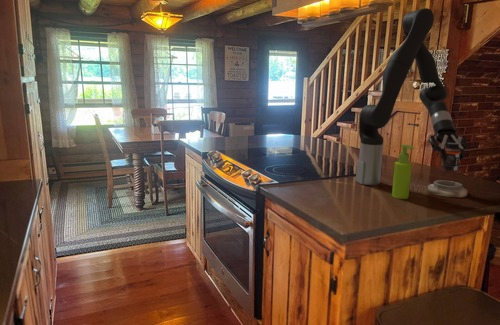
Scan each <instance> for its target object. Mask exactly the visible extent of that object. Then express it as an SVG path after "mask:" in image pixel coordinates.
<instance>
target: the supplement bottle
mask: <svg viewBox="0 0 500 325" xmlns="http://www.w3.org/2000/svg"><path fill="white" fill-rule="evenodd" d="M444 149H445V152H446V156H447V158H446V159H445V160H443V159H442V162H441V171H442V172H444V173H451V174H457V173H458V172H459V170H460V169H459V168H460V161H461V160H460V154H461V150H460V149H459V144H458V143H447V146H446V147H444Z"/></svg>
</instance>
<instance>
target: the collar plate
mask: <svg viewBox="0 0 500 325" xmlns="http://www.w3.org/2000/svg"><path fill="white" fill-rule="evenodd" d="M427 191H428V193H430V194H433V195H436V196H440V197H447V198H465V197H468V192H469V191H468V189H466V188H465V187H464V185H463V184H462V183H460V182H458V181H457V182H456V181H453V180H443V179H441V180H437V179H436V180H434V181H433V183H432V184H428V186H427Z"/></svg>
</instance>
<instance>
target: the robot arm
mask: <svg viewBox="0 0 500 325" xmlns="http://www.w3.org/2000/svg"><path fill="white" fill-rule="evenodd" d="M434 21H435V14H434V12H433V10H431V9H430V8H427V7H426V8H419V9H417V10H413V11H410V12H408V13H406V14H405V15H404V16H403V18H402V23H401V26H402V29H403V30H402V31H403V32H404V34H405V37H406V38H405V40H403V42H402V43H401V44H400V46H398V48H397V49H396V50H395V51H394V52H393V54H392V55H391V56H390V57H389V59H388V61H387V63H386V66H385V68H384V70H383V73H382V92H381V95H380V97H379V100H378V102H377V103H376V105H375V104H366V105H364V107H363V108H362V109H361V111H360V114H359V117H358V118H359V119H358V120H359V121H358V122H359V123H358V135H359V139H360V140H359V141H360V143H359V144H360V145H359V156H358V159H357V161H356V172H355V182H357V183H359V184H360V185H367V186H378V185H380V183H381V172H382V161H383V160H382V159H383V151H384V150H383V149H384V137H383V136H382V135H381V134H380V132H379V129H383V128H384V127H386V125H388V124H389V122H390V119H391V116H392V114H393V110H394V108H395V105H396V102H397V99H398V96H399V95H400V92H401V89H402V87H403V85H404V83H405V81H406V79H407V77H408V75H409V72H410V70H411V69H412V65H413V64H414V61H415V62H416V66H417V71H418V76H419V79H420V82H421V83H422V84H428V83H429V84H430V83H431V84H434V85H432V86H428V87H426V88H423V89H421V90H420V92H419V94H418V95H419V97H418V98H419V99H420V101H421V103H422V105H424V107H426V110H428V113H429V117H430V120H431V121H430V122H431V126H432V130H433V133H434V135H430V137H429V138H428V142H429V144H430V146H431V148H432V150H433V152H436V151H437V152H439V157H440V158H441V159H442V160H445V159H446V158H447V156H446V152H445V147H447V143H458V144H459V147H458V148H459V149H460V150H461V154H460V161H462V160H464V159H465V156H466V155H465V151H466V149H468V142H467V136H466V135H463V136H460V135H458V134H457V131H456V127H455V124H454V121H453V119H452V116H451V114H450V112H449V109H448V106H447V104H446V102H444V101H445V100H446V98H447V96H448V91H447V89H446V87H445V86H444V84H443V82H442V81H441V78H440V77H439V76H440V75H439V73H438V68H437V64H436V59H435V58H434V56H433V55H432V53H431V52H430V50H429V48H427V45H426V44H425V42H424V41H425V39H426V37H427V36H428V35H429V33H430V31H431V30H432V27H433V25H434ZM438 143H439V144H438Z"/></svg>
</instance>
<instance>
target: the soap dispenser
mask: <svg viewBox="0 0 500 325" xmlns="http://www.w3.org/2000/svg"><path fill="white" fill-rule="evenodd" d="M400 147H402V148H401V152H400V153H399V155H398V161H395V162H394V167H393V168H394V170H393V178H392V189H391V197H392V198H395V199H399V200H407V199H409V196H410V184H411V177H412V176H411V175H412V168H413V167H412V166H413V165H412V164H413V163H411V162H409V159H410V153H408V149H409V150H413V149H415V147H414V146H413V145H410V144H400Z"/></svg>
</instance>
